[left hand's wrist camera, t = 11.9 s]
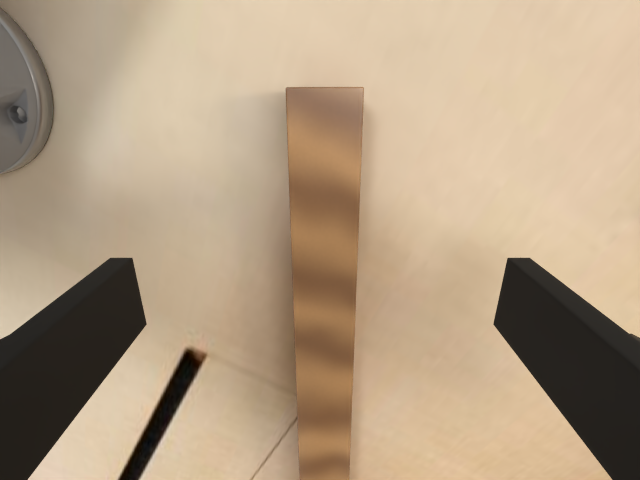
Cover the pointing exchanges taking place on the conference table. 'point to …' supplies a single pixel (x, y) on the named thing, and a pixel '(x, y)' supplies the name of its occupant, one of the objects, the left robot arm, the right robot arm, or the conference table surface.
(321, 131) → the beam
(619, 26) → the conference table surface
